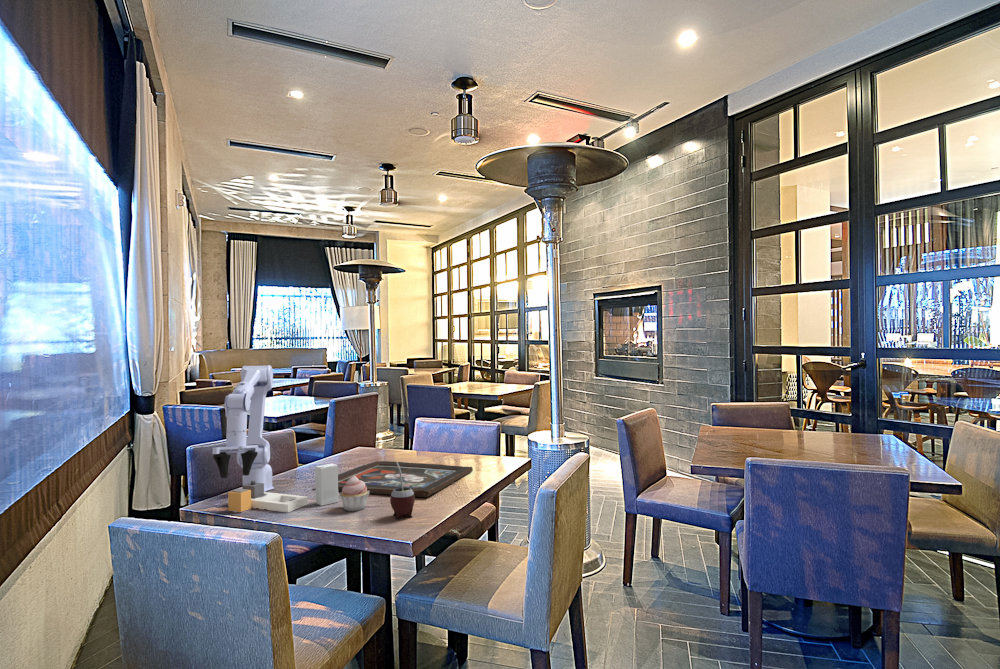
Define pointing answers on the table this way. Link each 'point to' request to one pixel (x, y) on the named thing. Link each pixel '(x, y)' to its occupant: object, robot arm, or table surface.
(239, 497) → the orange block
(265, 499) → the white recessed tray
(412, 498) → the mate gourd
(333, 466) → the skincare box
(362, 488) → the cupcake
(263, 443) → the robot arm
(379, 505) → the table surface
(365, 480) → the religious icon
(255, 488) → the twin plug
